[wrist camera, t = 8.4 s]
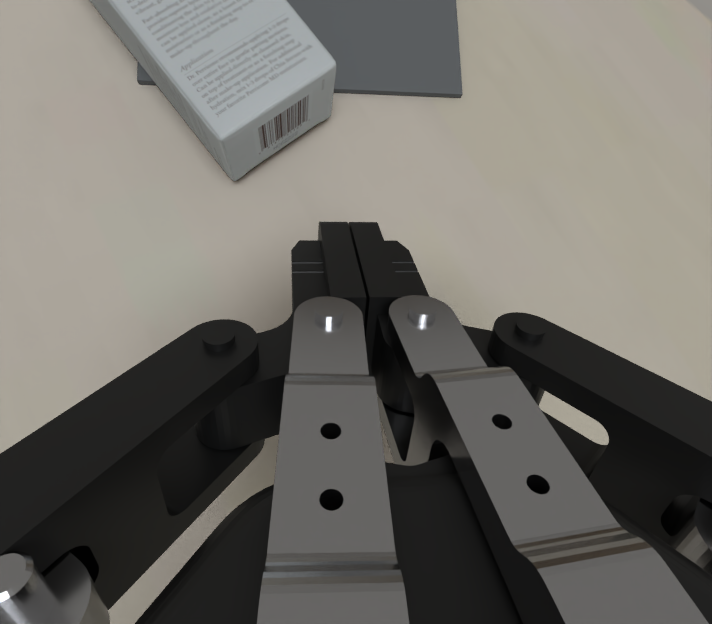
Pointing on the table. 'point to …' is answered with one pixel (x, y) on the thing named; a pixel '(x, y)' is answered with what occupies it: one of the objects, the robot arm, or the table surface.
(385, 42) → the mat
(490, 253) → the table surface
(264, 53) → the skincare box
